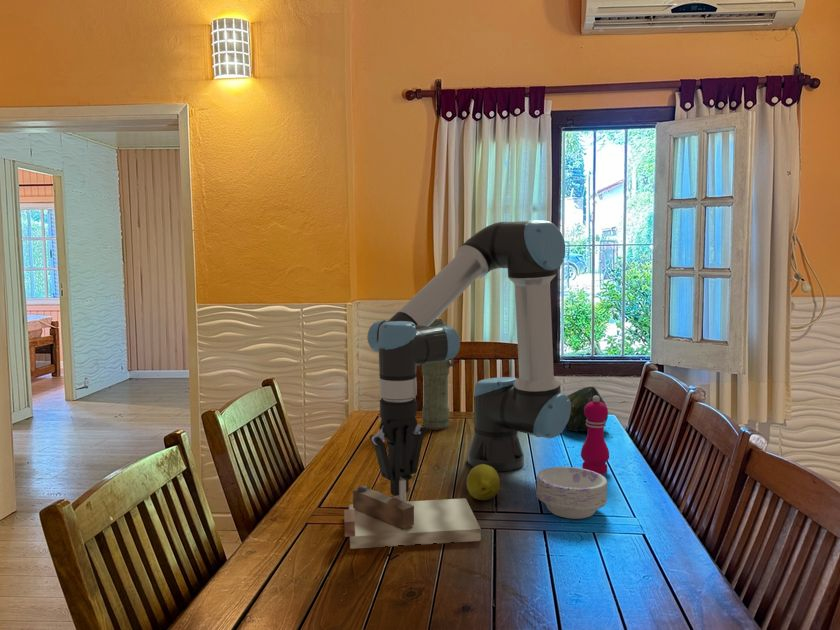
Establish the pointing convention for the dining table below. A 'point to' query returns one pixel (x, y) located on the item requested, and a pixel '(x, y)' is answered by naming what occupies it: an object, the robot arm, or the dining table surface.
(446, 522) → the stool seat
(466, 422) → the dining table surface
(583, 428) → the squash
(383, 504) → the walnut leg
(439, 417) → the thermos
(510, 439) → the robot arm
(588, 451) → the pepper mill
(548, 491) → the paper bowls
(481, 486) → the lemon
